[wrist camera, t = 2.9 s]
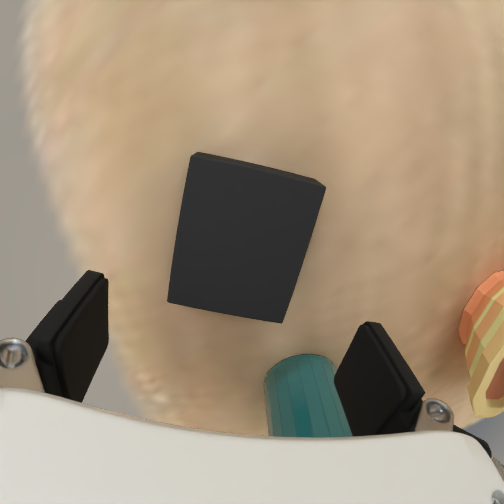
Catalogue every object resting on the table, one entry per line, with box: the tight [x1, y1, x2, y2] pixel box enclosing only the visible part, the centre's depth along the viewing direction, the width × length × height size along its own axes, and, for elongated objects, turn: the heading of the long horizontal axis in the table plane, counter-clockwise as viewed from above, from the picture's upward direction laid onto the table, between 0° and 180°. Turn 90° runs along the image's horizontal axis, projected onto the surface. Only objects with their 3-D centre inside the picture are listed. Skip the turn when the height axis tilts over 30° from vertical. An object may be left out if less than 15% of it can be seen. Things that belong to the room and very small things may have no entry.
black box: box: [167, 152, 326, 323], centre depth 19 cm, size 7×9×3 cm
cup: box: [264, 354, 353, 438], centre depth 21 cm, size 6×6×9 cm
